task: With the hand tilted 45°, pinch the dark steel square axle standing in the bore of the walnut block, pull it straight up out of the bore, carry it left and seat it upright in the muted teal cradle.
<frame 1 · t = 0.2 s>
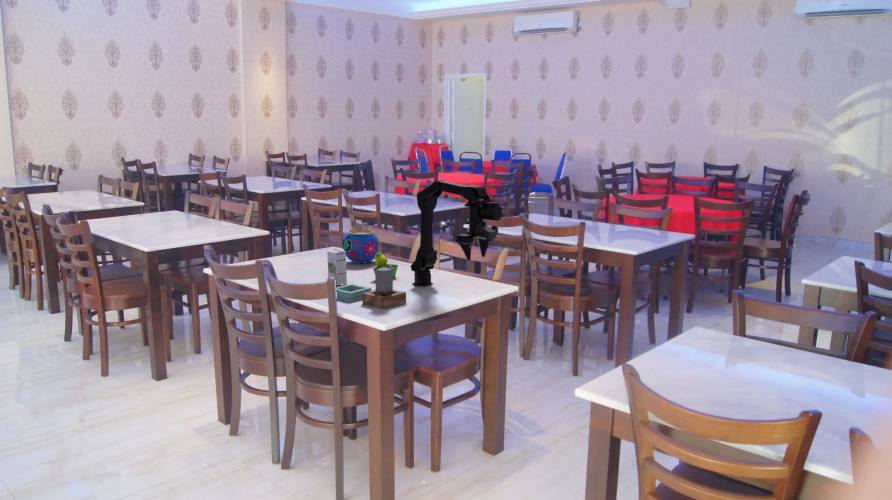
hand: (476, 258, 267), 15 cm above the table, tool pointing down, fingers open, 9 cm apart
cradle: (351, 296, 267), on the table
fruit basket: (384, 278, 300), on the table
bore block: (384, 303, 257), on the table
syrup box: (337, 284, 288), on the table
ceramic pot: (361, 262, 334), on the table
square axle: (384, 286, 256), in the bore block
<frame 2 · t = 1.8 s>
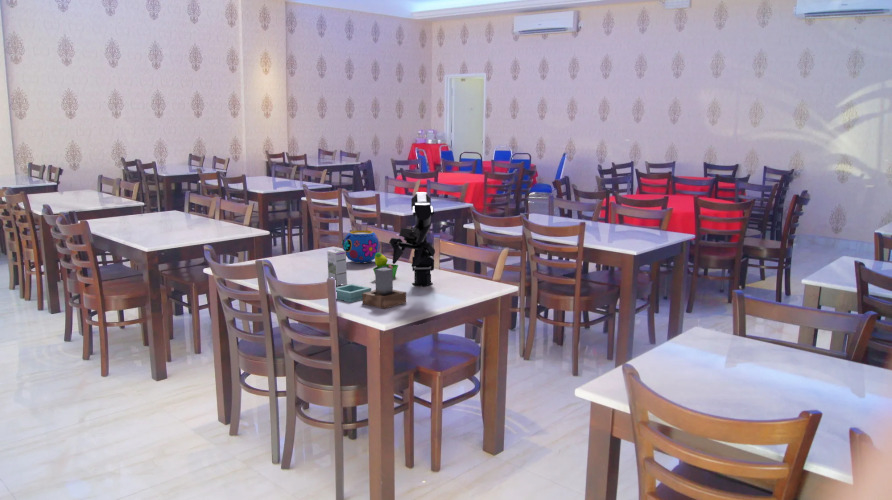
hand: (402, 265, 261), 13 cm above the table, tool tilted 45°, fingers open, 9 cm apart
nothing on the table moved.
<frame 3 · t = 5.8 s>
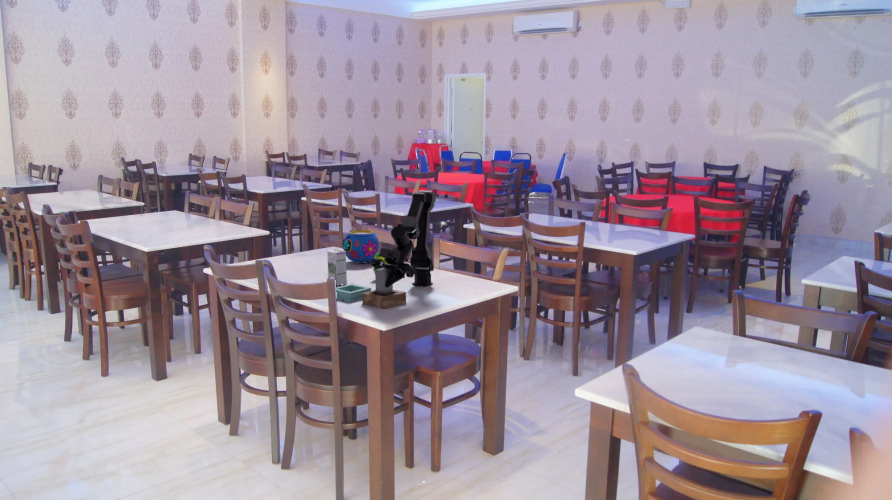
hand: (381, 285, 255), 7 cm above the table, tool tilted 45°, fingers closed on square axle, 4 cm apart
square axle: (384, 286, 256), in the bore block, touching gripper
everything else where it was.
when the fingers open (9 cm above the table, at t = 12.9 s): square axle drops 1 cm, resting on cradle.
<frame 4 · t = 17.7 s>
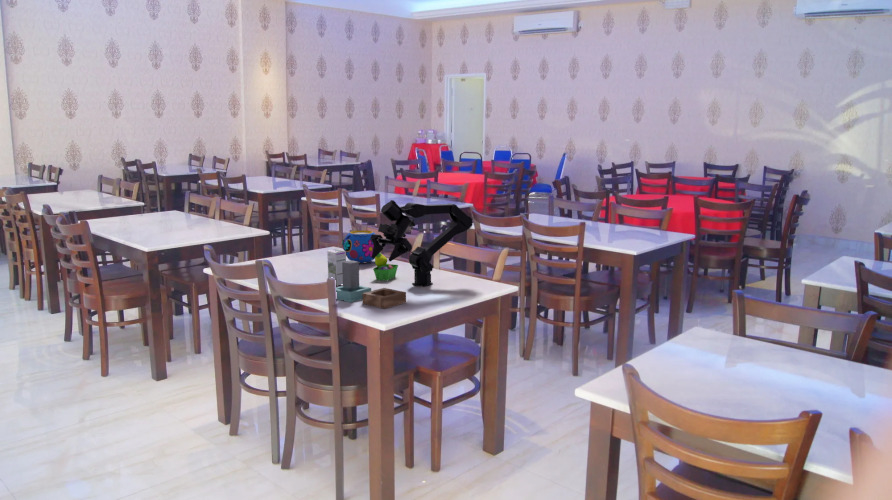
hand: (380, 259, 271), 14 cm above the table, tool tilted 45°, fingers open, 9 cm apart
square axle: (350, 278, 266), in the cradle, point 7 cm above the table
everything else where it was.
at the end: square axle 0.1 cm off-centre on the cradle, point 7.3 cm above the cradle's base; square axle tilted 0°; the gripper is holding nothing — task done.
